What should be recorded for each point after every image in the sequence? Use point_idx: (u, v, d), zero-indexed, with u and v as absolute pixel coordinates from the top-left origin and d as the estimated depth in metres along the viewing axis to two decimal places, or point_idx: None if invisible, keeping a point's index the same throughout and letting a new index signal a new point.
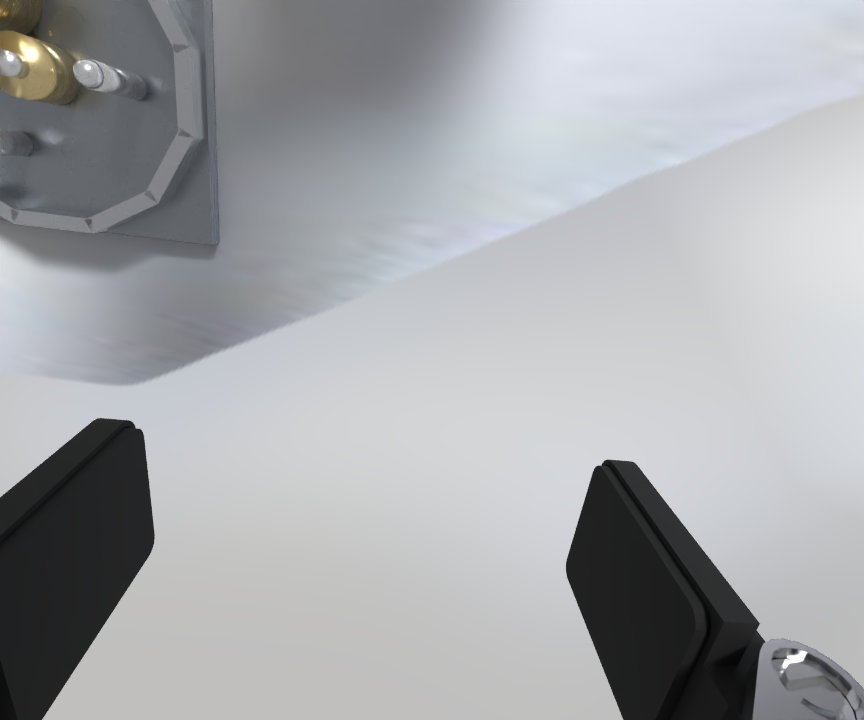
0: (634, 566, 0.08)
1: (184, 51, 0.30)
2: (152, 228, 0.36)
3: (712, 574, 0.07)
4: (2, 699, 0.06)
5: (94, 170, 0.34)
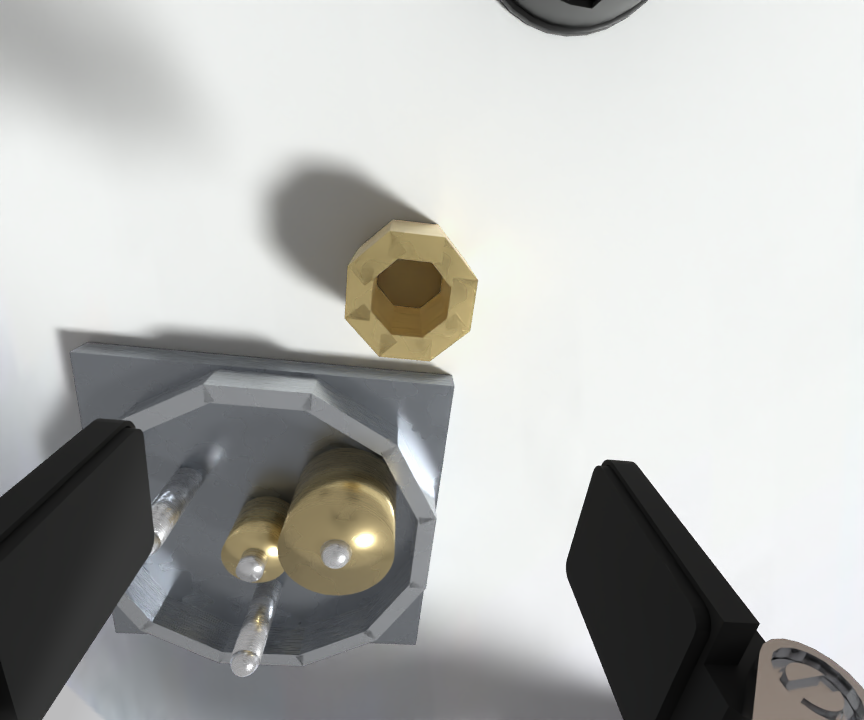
0: (634, 566, 0.08)
1: (297, 662, 0.31)
2: None
3: (712, 574, 0.07)
4: (2, 699, 0.06)
5: (173, 541, 0.29)
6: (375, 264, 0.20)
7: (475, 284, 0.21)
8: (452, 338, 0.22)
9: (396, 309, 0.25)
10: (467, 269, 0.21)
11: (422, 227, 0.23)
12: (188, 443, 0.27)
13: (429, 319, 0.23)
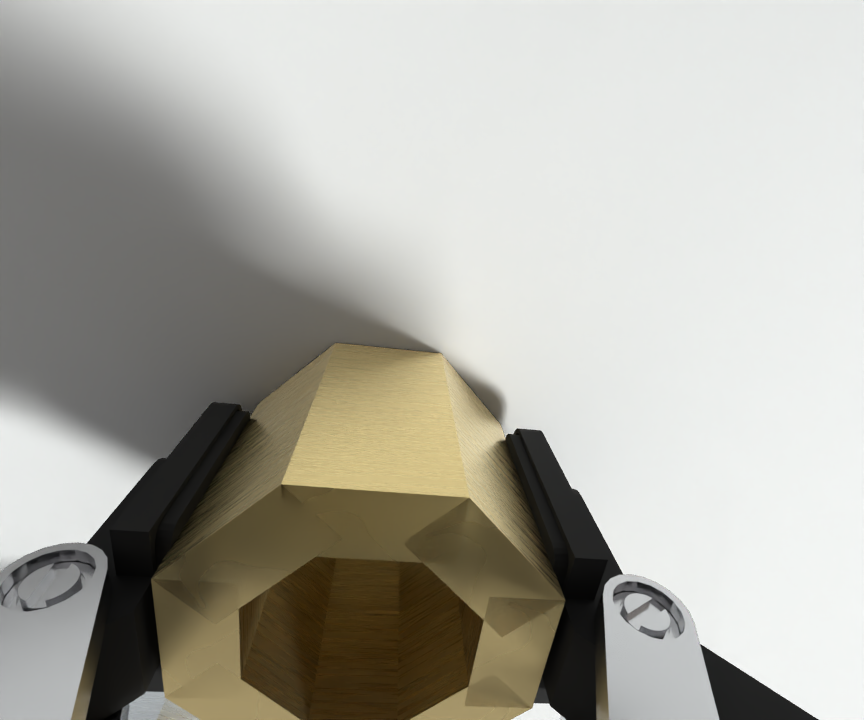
0: None
1: None
2: None
3: (579, 521, 0.08)
4: None
5: None
6: (242, 572, 0.06)
7: (556, 609, 0.07)
8: None
9: None
10: (535, 576, 0.07)
11: (401, 395, 0.08)
12: None
13: (418, 613, 0.09)
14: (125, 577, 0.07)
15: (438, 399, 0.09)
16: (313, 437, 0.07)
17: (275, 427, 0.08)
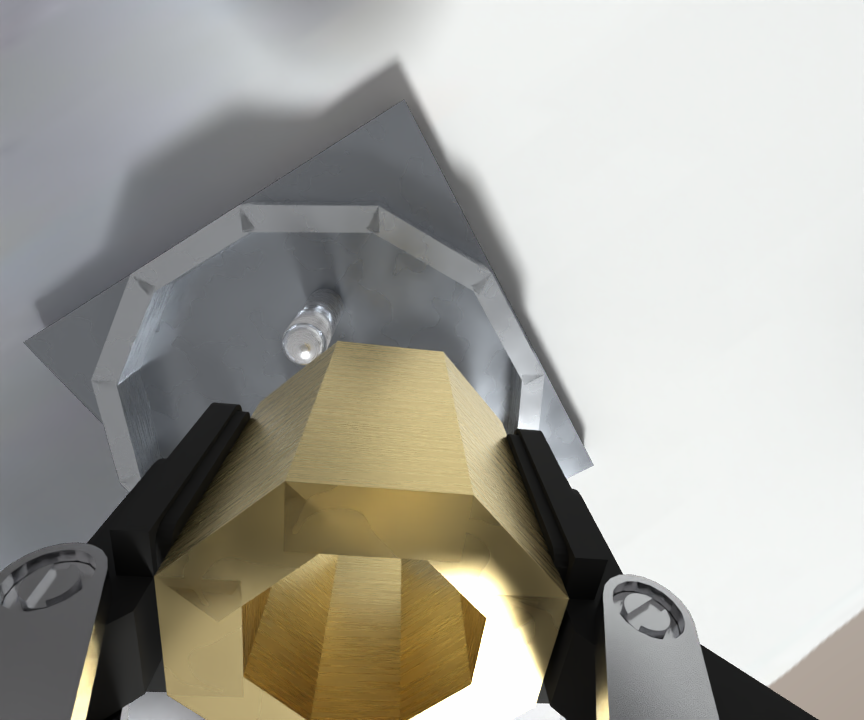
0: None
1: None
2: (108, 309, 0.21)
3: (579, 521, 0.08)
4: None
5: (226, 335, 0.22)
6: (245, 570, 0.06)
7: (560, 607, 0.07)
8: None
9: None
10: (539, 574, 0.07)
11: (403, 393, 0.08)
12: (373, 282, 0.22)
13: (421, 612, 0.09)
14: (125, 577, 0.07)
15: (441, 397, 0.09)
16: (316, 434, 0.07)
17: (278, 425, 0.08)
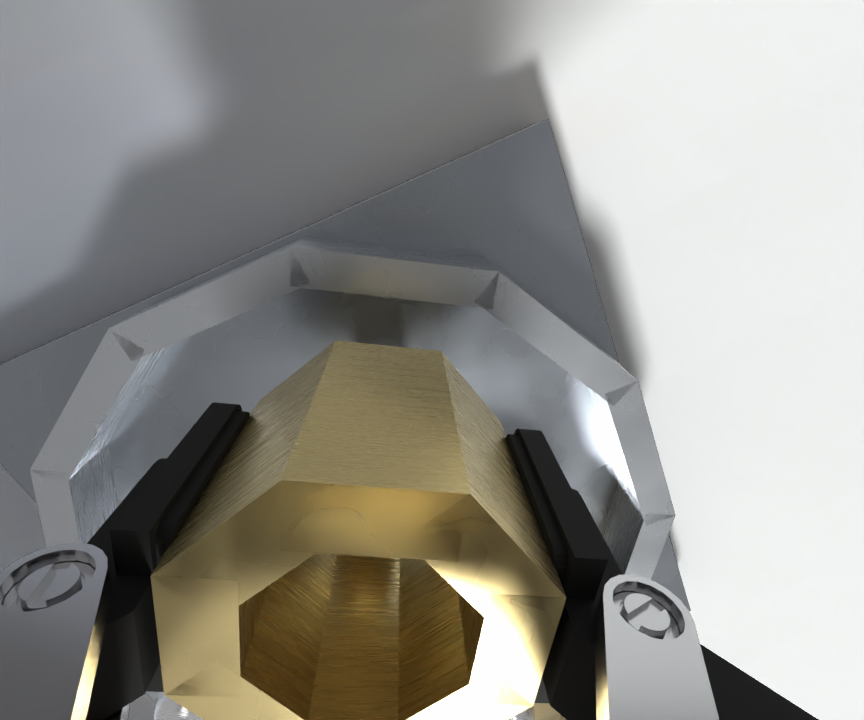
0: None
1: (157, 692, 0.17)
2: (70, 362, 0.15)
3: (579, 521, 0.08)
4: None
5: None
6: (242, 569, 0.06)
7: (557, 607, 0.07)
8: None
9: None
10: (536, 573, 0.07)
11: (401, 392, 0.08)
12: (455, 364, 0.15)
13: (419, 611, 0.09)
14: (125, 577, 0.07)
15: (439, 396, 0.09)
16: (313, 434, 0.07)
17: (275, 424, 0.08)
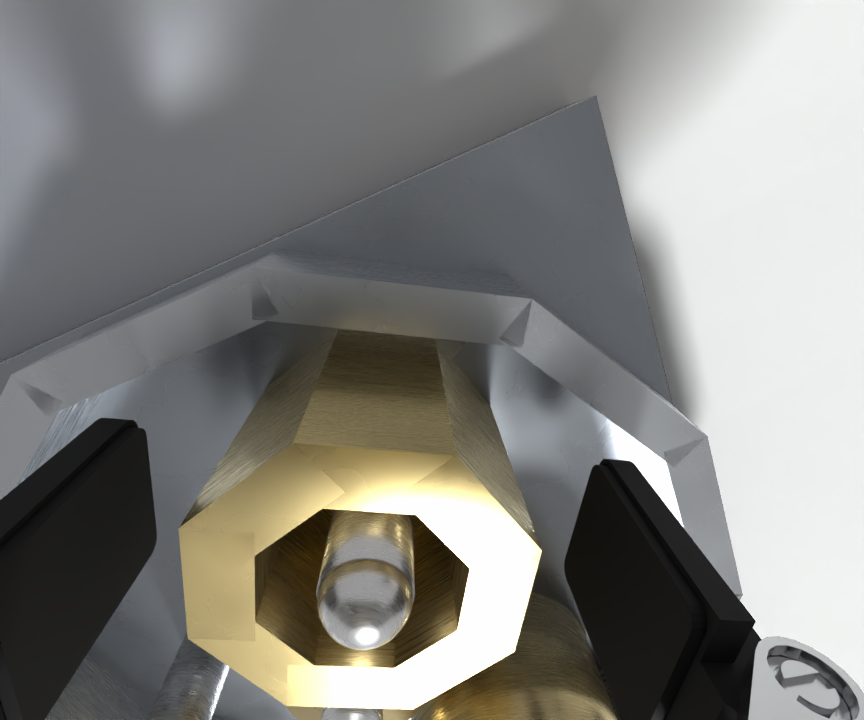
0: (631, 564, 0.08)
1: None
2: None
3: (709, 572, 0.07)
4: (7, 697, 0.06)
5: (197, 466, 0.13)
6: (258, 523, 0.07)
7: (534, 559, 0.08)
8: (469, 667, 0.09)
9: None
10: (515, 528, 0.08)
11: (397, 374, 0.09)
12: None
13: (414, 574, 0.10)
14: None
15: (431, 378, 0.09)
16: (319, 407, 0.08)
17: (284, 402, 0.09)
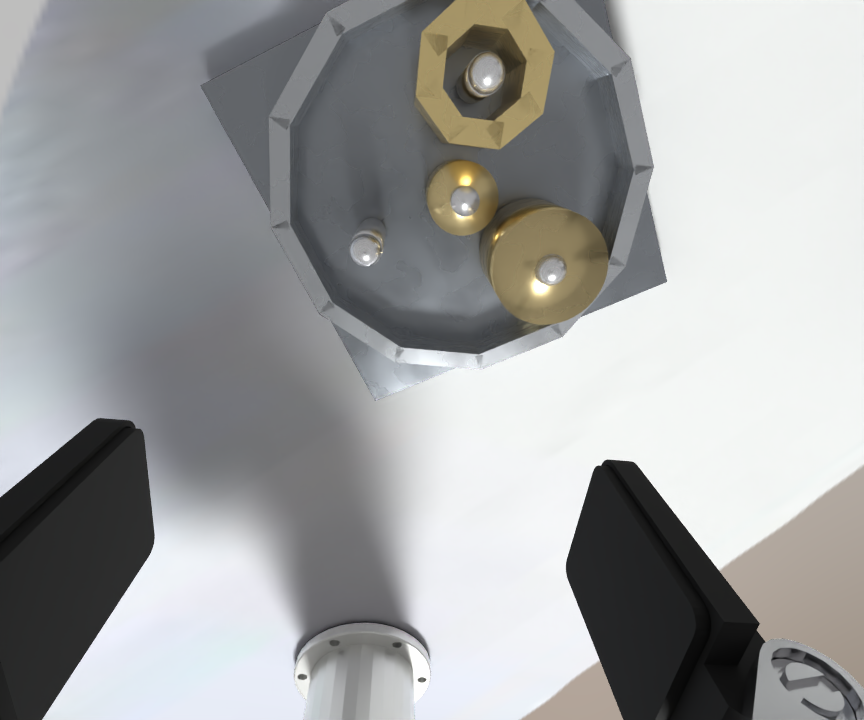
0: (634, 566, 0.08)
1: (321, 306, 0.27)
2: (282, 62, 0.24)
3: (712, 574, 0.07)
4: (2, 699, 0.06)
5: (379, 104, 0.25)
6: (450, 30, 0.20)
7: (551, 57, 0.20)
8: (524, 123, 0.21)
9: None
10: (544, 38, 0.20)
11: None
12: None
13: (496, 115, 0.23)
14: None
15: None
16: None
17: None
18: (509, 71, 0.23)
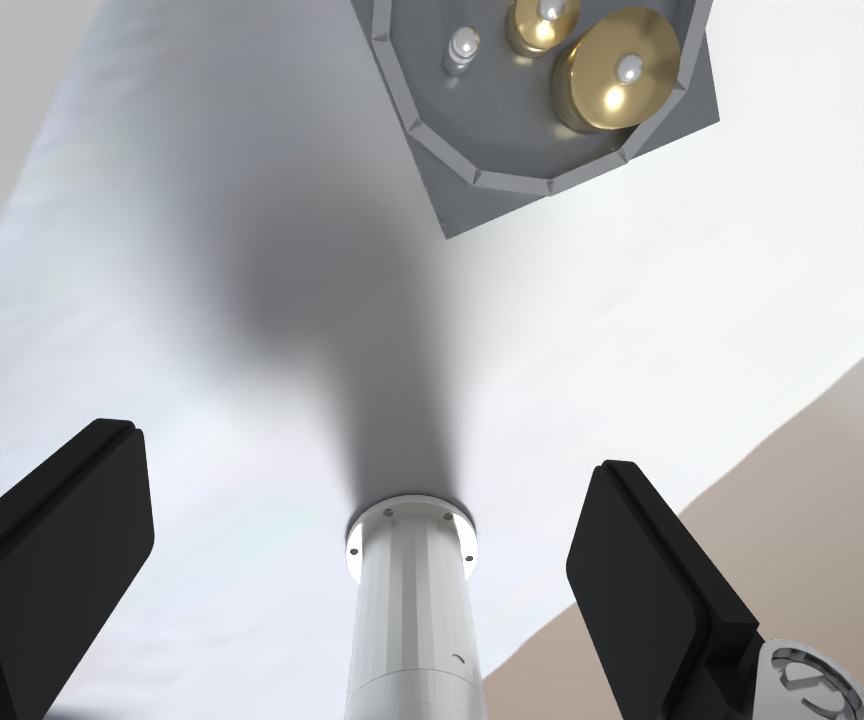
0: (634, 566, 0.08)
1: (410, 123, 0.30)
2: None
3: (712, 574, 0.07)
4: (2, 699, 0.06)
5: None
6: None
7: None
8: None
9: None
10: None
11: None
12: None
13: None
14: None
15: None
16: None
17: None
18: None
